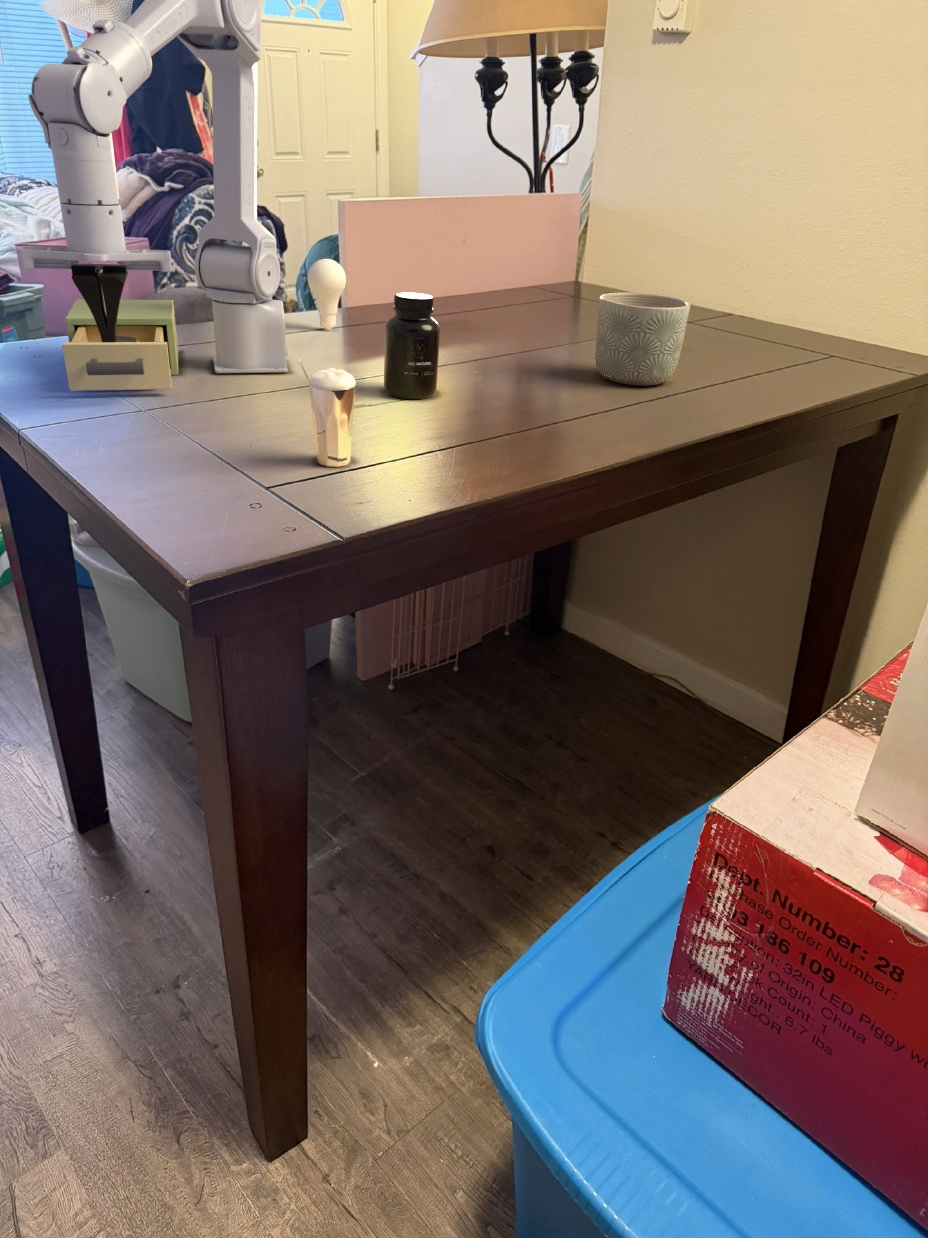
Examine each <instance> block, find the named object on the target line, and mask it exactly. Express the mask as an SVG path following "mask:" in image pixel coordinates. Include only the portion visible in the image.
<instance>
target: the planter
mask: <svg viewBox="0 0 928 1238" xmlns="http://www.w3.org/2000/svg"><path fill="white" fill-rule="evenodd" d="M598 304H599V305H598V312H597V313H598V315H597V326H596V337H595V365H596V369H597V371H598V373H599V374H600V375H601V376H602V377H603V378H605V379H606V380H609V381H611V382H614V383H618V384H622V385H629V386H640V387H641V386H643V387H645V386H646V387H649V386H657V385H661V384H664V383H666V382H668V380H670V379H671V378H672V377H673V375H674V374H675V372H676V369H677V366H678V363H679V359H680V356H681V353H682V347H683V344H684V339H685V334H686V330H687V324H688V321H689V314H690V310H691V309H690V308H691V303H690V302H689V301H687V300H684V299H681V298H678V297H672V296H667V295H661V294H654V293H644V292H643V293H642V292H610V293H604V294H601V295H600V296H599V303H598ZM600 372H601V373H600ZM604 374H605V375H604ZM606 375H607V376H606ZM609 376H610V377H609ZM617 378H618V379H617ZM669 378H670V379H669ZM666 379H668V380H666ZM661 380H664V381H661ZM655 381H656V382H655Z"/></svg>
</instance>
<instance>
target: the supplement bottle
mask: <svg viewBox="0 0 928 1238" xmlns="http://www.w3.org/2000/svg"><path fill="white" fill-rule="evenodd" d="M393 297H394V299H393V306H392V309H393V311H394V312H395V314H394V315H393V316H391V317H389V318H388V319H387V321H386V322H385V328H384V362H383V364H384V365H383V366H384V367H383V368H384V369H383V390H384V391H385V393H386V394H387V395H389V396H392V397H393V398H399V399H405V400H424V399H429V398H432V397H434V396H435V395H436V393H437V387H438V372H439V353H440V352H439V351H440V336H441V335H440V334H441V328H440V325H439V323H438V322H437V321H436V319H434V318H433V317H432V314H433V313H434V297H433V296H432V295H430V294H427V293H419V292H418V293H417V292H399V293H395V294H394V296H393Z"/></svg>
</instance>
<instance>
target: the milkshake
mask: <svg viewBox="0 0 928 1238" xmlns="http://www.w3.org/2000/svg"><path fill="white" fill-rule="evenodd" d="M298 362H299V365H300V366H301V368H302V371H303V373H304V375H305V377H306V379H307V382H308V391H309V398H310V405H311V415H312V421H313V422H312V423H313V433H314V434H313V435H314V444H315V451H316V461H317V462H318V463H319V465H321V466H325V467H329V468H331V467H335V468H337V467H338V468H339V467H343V466H347V465H348V464H349V463H351V457H352V456H351V455H352V441H353V426H354V425H353V424H354V409H355V399H356V389H357V388H356V387H357V381H356V379H355V377H354V375H352V374H351V373H350V372H349V371H348V372H347V371H346V370H345V369H342V368H334V367H328V368H326V369H320V370H317V371H316V372H314V373H313V374H312V375H311V376H308V374H307V372H306V371H305V368H304V366H303V364H302V362H301V360H300V359H298Z"/></svg>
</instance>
